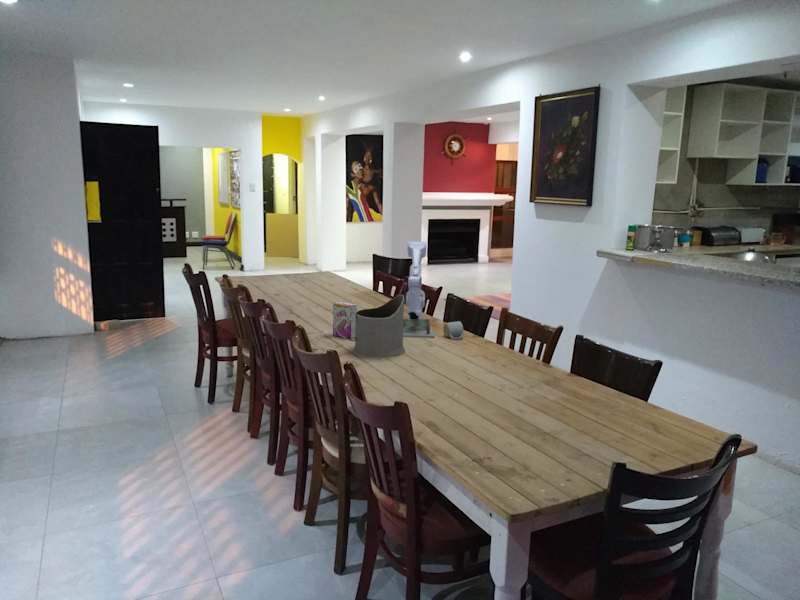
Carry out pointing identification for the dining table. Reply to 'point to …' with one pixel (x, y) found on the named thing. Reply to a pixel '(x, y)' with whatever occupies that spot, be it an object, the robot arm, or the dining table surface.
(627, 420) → the dining table surface
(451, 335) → the ceramic mug
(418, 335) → the gate base
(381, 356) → the pitcher
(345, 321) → the candy bar box
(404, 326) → the gate
